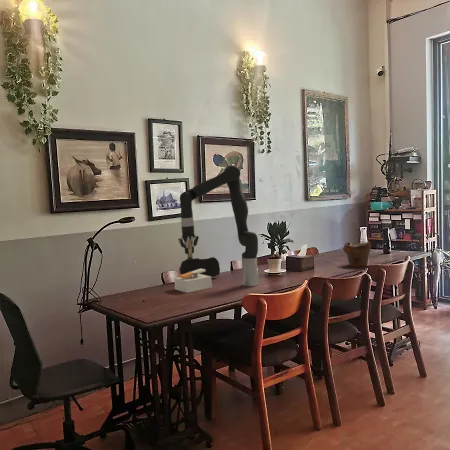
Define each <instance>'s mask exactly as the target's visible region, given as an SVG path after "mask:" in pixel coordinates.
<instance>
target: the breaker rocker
mask: <svg viewBox="0 0 450 450" xmlns="http://www.w3.org/2000/svg"><path fill="white" fill-rule="evenodd" d="M202 272H205V269H198V270H195V271H192V272H188V273H185V274H182V275H181V274H180V275H179V276H178V277H180V278H187V277H190V276H193V275H194V274H193V273H198V274H199V273H202Z"/></svg>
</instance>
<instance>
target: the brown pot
mask: <svg viewBox="0 0 450 450" xmlns="http://www.w3.org/2000/svg"><path fill="white" fill-rule="evenodd" d="M371 247H372V246H371V242H370V241H369V240H367V242H363V243H359V242H358V243H356V242H355V243H354V242H351V241H348V242H345V243H344V246H343V251H344V254H346V257H347V261H348V265H349V266H350V267H356V268H357V267H360V268H361V267H367V266H368V263H369V258H370V257H369V256H370V252H371Z"/></svg>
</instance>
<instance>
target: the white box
mask: <svg viewBox="0 0 450 450" xmlns="http://www.w3.org/2000/svg"><path fill="white" fill-rule="evenodd" d="M193 274H194V275H193V276H190V277H187V278H180V276H178V277H174V290H176V291H179V292H183V293H186V294H188V293H193V292H198V291H203V290H209V289H212V288H213V285H212V282H213V281H212V277H211V276H206V275H202V274H198V273H193Z"/></svg>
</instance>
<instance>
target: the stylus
mask: <svg viewBox="0 0 450 450" xmlns="http://www.w3.org/2000/svg"><path fill="white" fill-rule="evenodd" d="M188 253H189V254H186V256H187V259H194V258H193V254H192V244H191V239H189V244H188Z"/></svg>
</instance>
